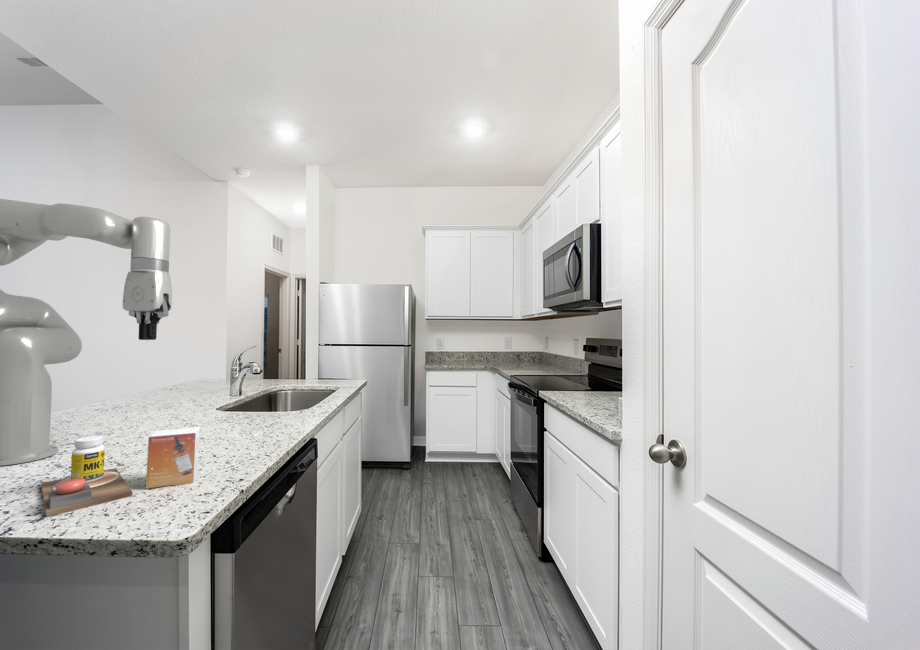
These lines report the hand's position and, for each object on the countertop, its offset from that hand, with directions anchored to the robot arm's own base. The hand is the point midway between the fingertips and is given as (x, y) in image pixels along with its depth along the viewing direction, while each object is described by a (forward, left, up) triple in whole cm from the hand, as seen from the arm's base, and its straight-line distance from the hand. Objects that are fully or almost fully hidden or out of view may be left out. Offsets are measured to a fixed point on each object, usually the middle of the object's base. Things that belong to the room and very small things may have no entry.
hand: (147, 339), depth 94 cm
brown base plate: (+10, -19, -29) cm, 36 cm away
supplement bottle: (+7, -17, -28) cm, 34 cm away
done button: (+14, -24, -26) cm, 38 cm away
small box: (+22, -12, -29) cm, 38 cm away
